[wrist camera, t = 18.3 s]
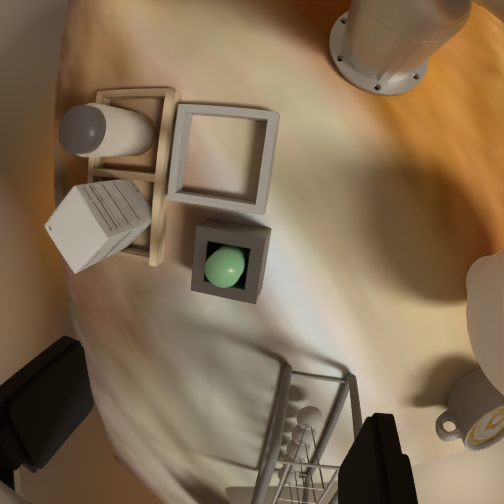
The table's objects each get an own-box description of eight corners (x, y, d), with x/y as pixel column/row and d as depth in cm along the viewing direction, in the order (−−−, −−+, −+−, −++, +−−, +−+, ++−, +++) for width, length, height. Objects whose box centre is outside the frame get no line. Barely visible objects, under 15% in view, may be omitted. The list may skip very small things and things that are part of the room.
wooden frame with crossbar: (107, 93, 39) (97, 91, 37) (181, 92, 37) (173, 88, 35) (95, 246, 46) (85, 250, 43) (163, 261, 44) (155, 266, 42)
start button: (221, 237, 41) (206, 249, 35) (252, 243, 40) (242, 256, 35) (217, 267, 42) (203, 283, 36) (247, 273, 41) (237, 290, 36)
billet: (121, 113, 39) (60, 102, 27) (158, 113, 39) (101, 99, 26) (116, 154, 41) (54, 156, 29) (153, 157, 40) (94, 158, 28)
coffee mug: (501, 361, 39) (526, 396, 29) (490, 404, 41) (509, 439, 32) (432, 380, 42) (450, 422, 32) (426, 422, 44) (439, 463, 35)
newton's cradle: (309, 479, 52) (301, 551, 35) (258, 471, 53) (240, 543, 37) (355, 368, 43) (367, 461, 27) (285, 357, 45) (269, 450, 28)
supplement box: (127, 248, 45) (73, 276, 33) (100, 208, 44) (41, 225, 32) (161, 218, 42) (109, 239, 30) (131, 175, 42) (72, 183, 30)
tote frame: (186, 106, 38) (178, 103, 35) (279, 115, 36) (277, 112, 34) (175, 197, 41) (167, 199, 39) (265, 211, 40) (262, 214, 37)
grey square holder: (209, 218, 41) (196, 225, 36) (271, 229, 40) (265, 237, 35) (203, 276, 44) (190, 290, 39) (261, 288, 42) (255, 304, 38)
